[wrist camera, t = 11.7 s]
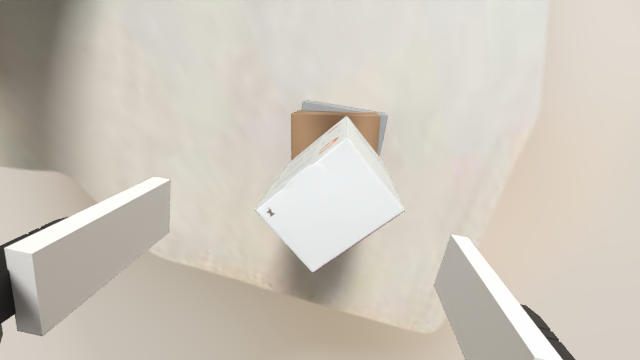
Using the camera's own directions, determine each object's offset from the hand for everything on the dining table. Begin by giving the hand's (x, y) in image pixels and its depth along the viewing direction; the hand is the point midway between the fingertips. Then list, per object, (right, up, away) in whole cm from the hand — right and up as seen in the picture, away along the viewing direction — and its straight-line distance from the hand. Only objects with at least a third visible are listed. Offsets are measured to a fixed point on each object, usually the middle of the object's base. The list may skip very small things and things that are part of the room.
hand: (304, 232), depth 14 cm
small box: (+2, +4, +18) cm, 19 cm away
